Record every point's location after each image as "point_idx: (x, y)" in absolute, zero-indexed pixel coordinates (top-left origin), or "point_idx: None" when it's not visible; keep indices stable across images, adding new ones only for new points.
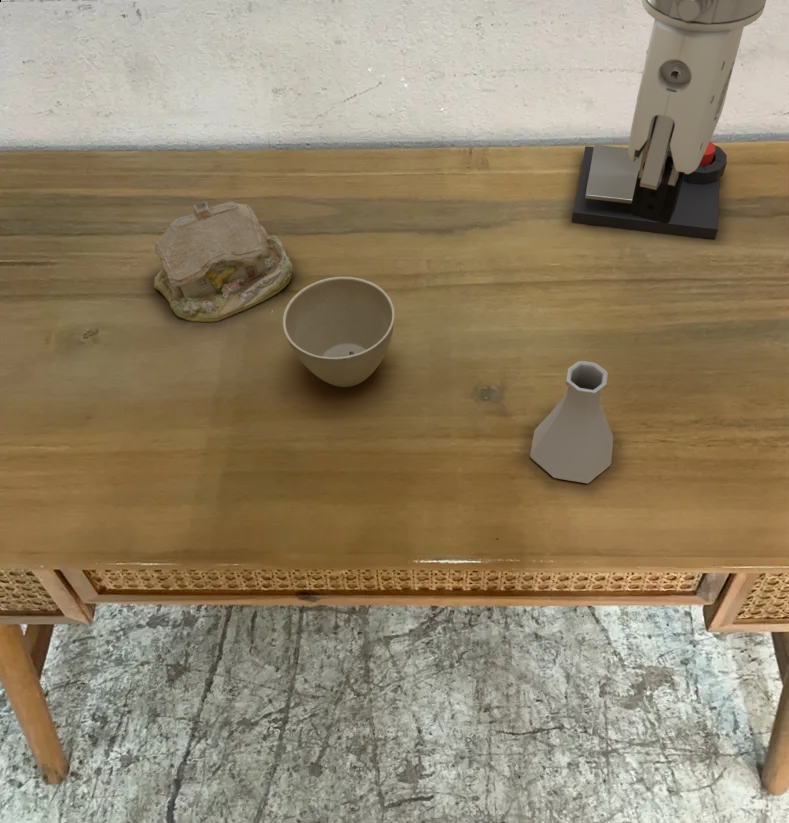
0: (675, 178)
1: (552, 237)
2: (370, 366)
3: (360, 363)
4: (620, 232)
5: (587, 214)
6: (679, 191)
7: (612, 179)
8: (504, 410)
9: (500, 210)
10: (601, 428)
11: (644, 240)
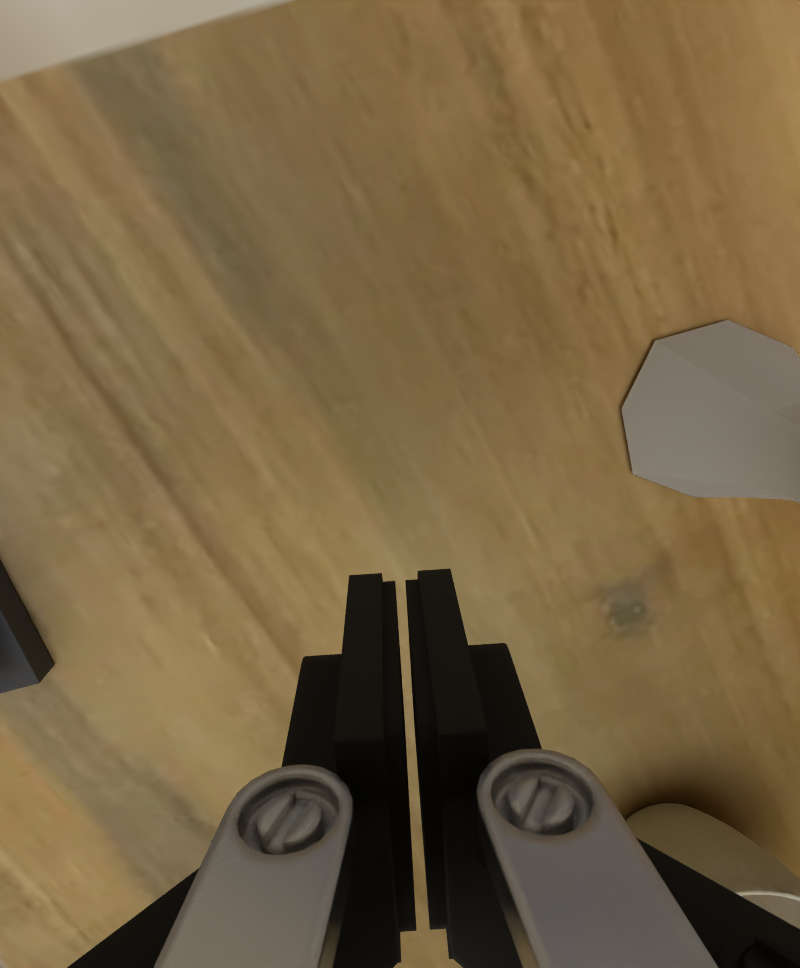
0: (624, 829)
1: (128, 679)
2: (751, 845)
3: (797, 879)
4: (15, 557)
5: (24, 652)
6: (358, 643)
7: None
8: (654, 566)
9: (114, 800)
10: (789, 377)
11: (5, 497)
